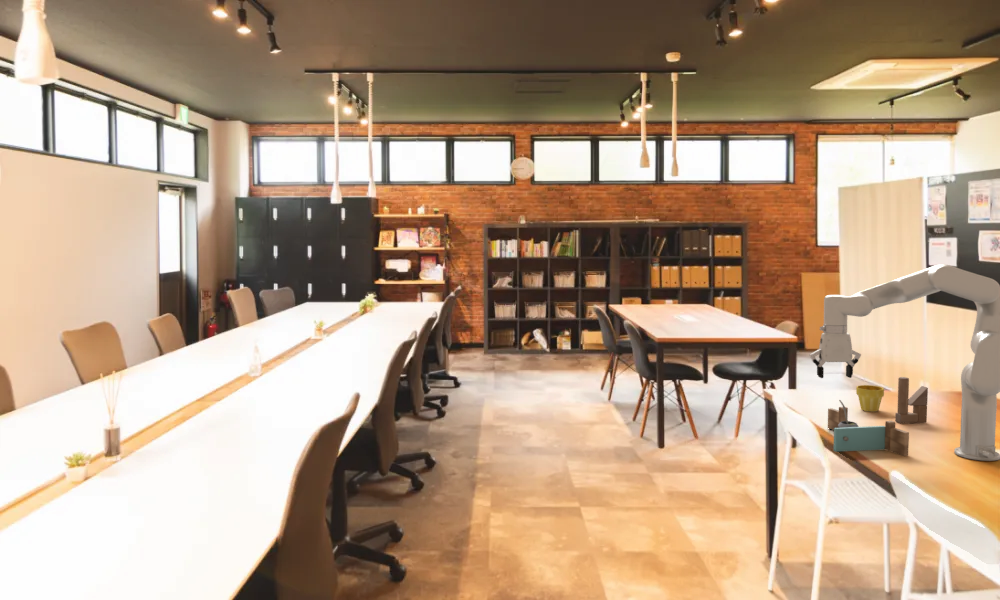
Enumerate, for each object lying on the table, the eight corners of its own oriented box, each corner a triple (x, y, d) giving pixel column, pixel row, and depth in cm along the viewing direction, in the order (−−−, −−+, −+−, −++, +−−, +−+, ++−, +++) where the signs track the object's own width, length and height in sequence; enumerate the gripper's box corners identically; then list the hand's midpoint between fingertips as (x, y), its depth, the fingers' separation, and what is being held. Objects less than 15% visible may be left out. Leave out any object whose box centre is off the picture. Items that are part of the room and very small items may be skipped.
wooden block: (927, 423, 270) (928, 378, 268) (900, 423, 269) (901, 378, 268) (920, 420, 274) (922, 376, 272) (894, 421, 273) (896, 377, 272)
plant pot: (859, 412, 288) (860, 389, 287) (853, 406, 298) (853, 384, 297) (886, 413, 286) (887, 390, 285) (879, 407, 296) (879, 385, 295)
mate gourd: (855, 449, 239) (856, 406, 237) (831, 444, 244) (832, 403, 243) (862, 444, 244) (863, 402, 243) (838, 440, 249) (839, 399, 248)
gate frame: (909, 455, 230) (910, 426, 229) (903, 456, 230) (904, 426, 229) (832, 428, 265) (832, 403, 264) (826, 429, 264) (827, 403, 263)
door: (882, 448, 239) (883, 425, 238) (886, 450, 237) (887, 427, 236) (833, 450, 237) (833, 427, 236) (837, 452, 235) (837, 429, 234)
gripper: (814, 331, 240) (813, 379, 241) (865, 330, 238) (864, 379, 240) (806, 328, 247) (805, 375, 249) (856, 328, 246) (855, 375, 247)
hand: (834, 377), depth 244 cm, fingers open, 9 cm apart
